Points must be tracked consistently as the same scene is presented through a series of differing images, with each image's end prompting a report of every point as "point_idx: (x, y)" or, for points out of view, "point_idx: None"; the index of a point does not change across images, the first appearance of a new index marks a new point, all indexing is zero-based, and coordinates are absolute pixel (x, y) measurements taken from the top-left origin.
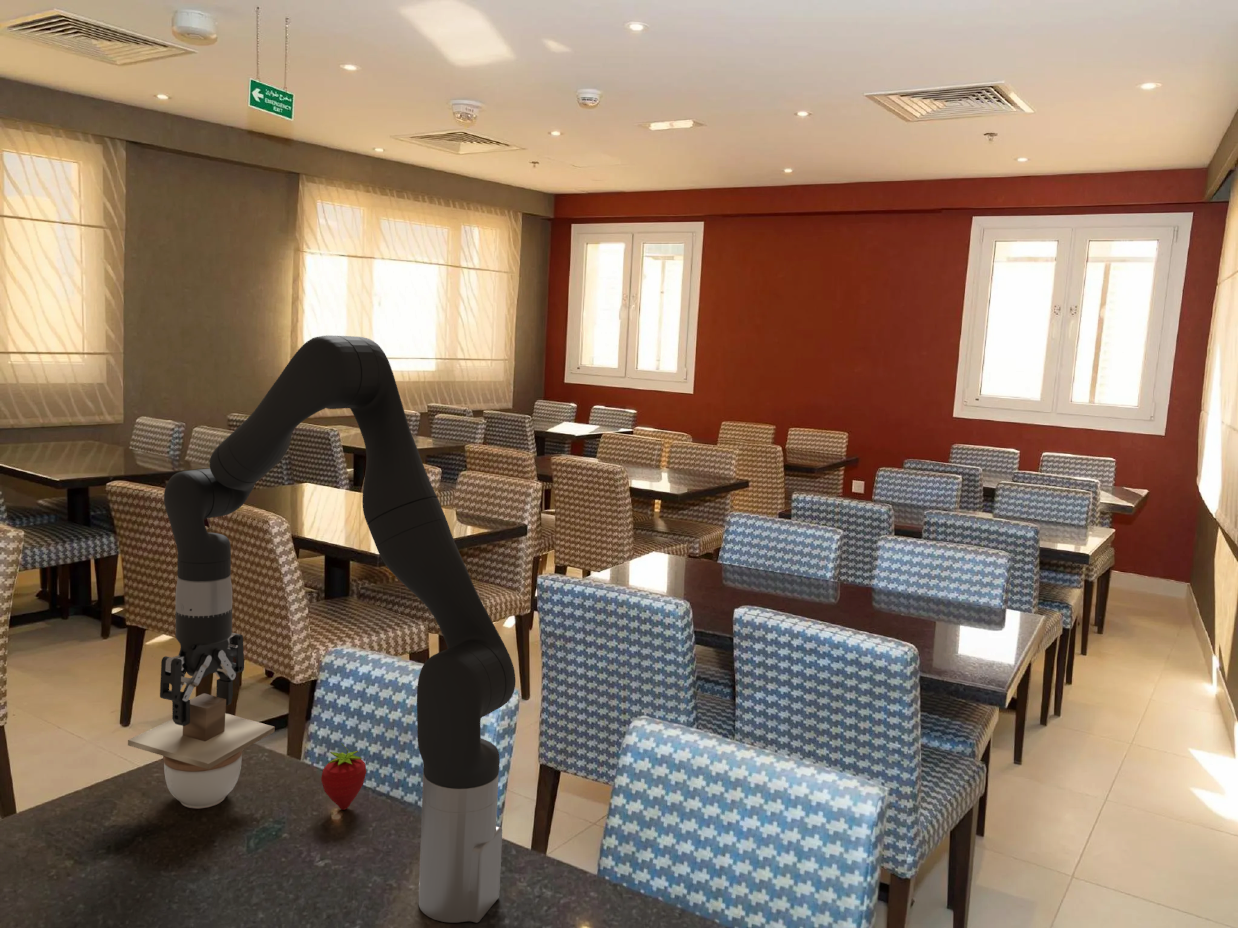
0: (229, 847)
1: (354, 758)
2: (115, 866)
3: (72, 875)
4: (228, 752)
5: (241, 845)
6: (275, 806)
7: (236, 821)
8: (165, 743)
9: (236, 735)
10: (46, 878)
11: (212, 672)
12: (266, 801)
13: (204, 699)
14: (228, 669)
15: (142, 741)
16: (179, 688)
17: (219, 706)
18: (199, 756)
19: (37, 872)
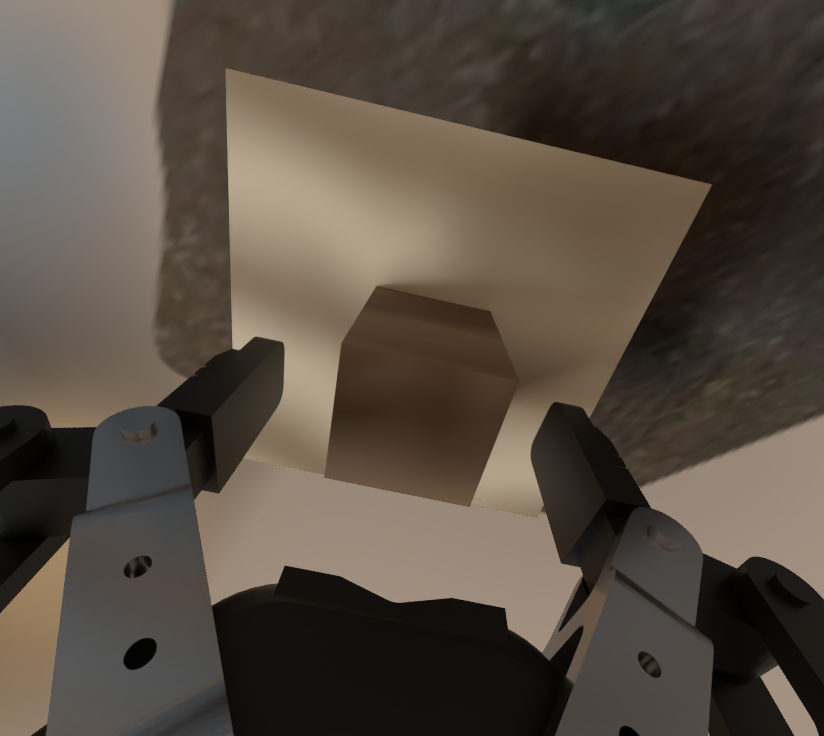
0: (691, 51)
1: None
2: (749, 300)
3: (772, 358)
4: (578, 154)
5: (683, 13)
6: (429, 37)
7: (533, 120)
8: (538, 423)
9: (395, 214)
10: (773, 392)
11: (353, 589)
12: (405, 90)
13: (397, 443)
14: (167, 503)
15: (537, 483)
16: (822, 662)
17: (404, 344)
18: (634, 263)
19: (745, 415)
